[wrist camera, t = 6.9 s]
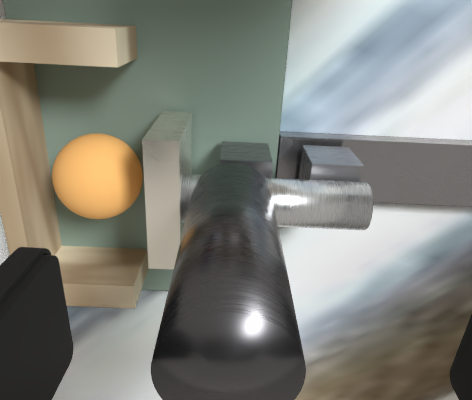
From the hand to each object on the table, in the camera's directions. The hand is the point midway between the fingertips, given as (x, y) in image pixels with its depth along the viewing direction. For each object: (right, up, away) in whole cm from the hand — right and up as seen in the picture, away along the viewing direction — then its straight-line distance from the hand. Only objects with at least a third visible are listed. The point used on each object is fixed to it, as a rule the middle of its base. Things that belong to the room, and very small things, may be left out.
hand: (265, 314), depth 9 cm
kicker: (0, +4, +9) cm, 10 cm away
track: (+7, +4, +10) cm, 13 cm away
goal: (-7, +4, +9) cm, 12 cm away
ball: (-6, +4, +7) cm, 10 cm away
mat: (-4, +5, +10) cm, 12 cm away
